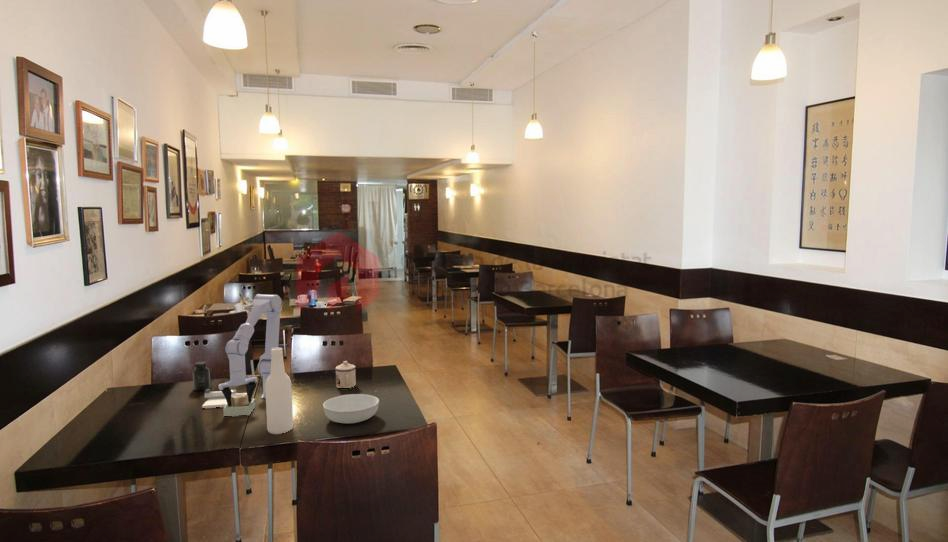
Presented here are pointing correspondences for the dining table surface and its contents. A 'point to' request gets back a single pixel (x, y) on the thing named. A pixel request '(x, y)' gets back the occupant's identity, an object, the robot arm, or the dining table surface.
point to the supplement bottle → (201, 376)
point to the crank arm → (216, 393)
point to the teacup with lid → (345, 375)
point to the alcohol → (278, 396)
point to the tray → (239, 409)
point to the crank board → (216, 402)
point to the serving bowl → (351, 408)
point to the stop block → (239, 400)
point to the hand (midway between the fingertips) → (239, 403)
